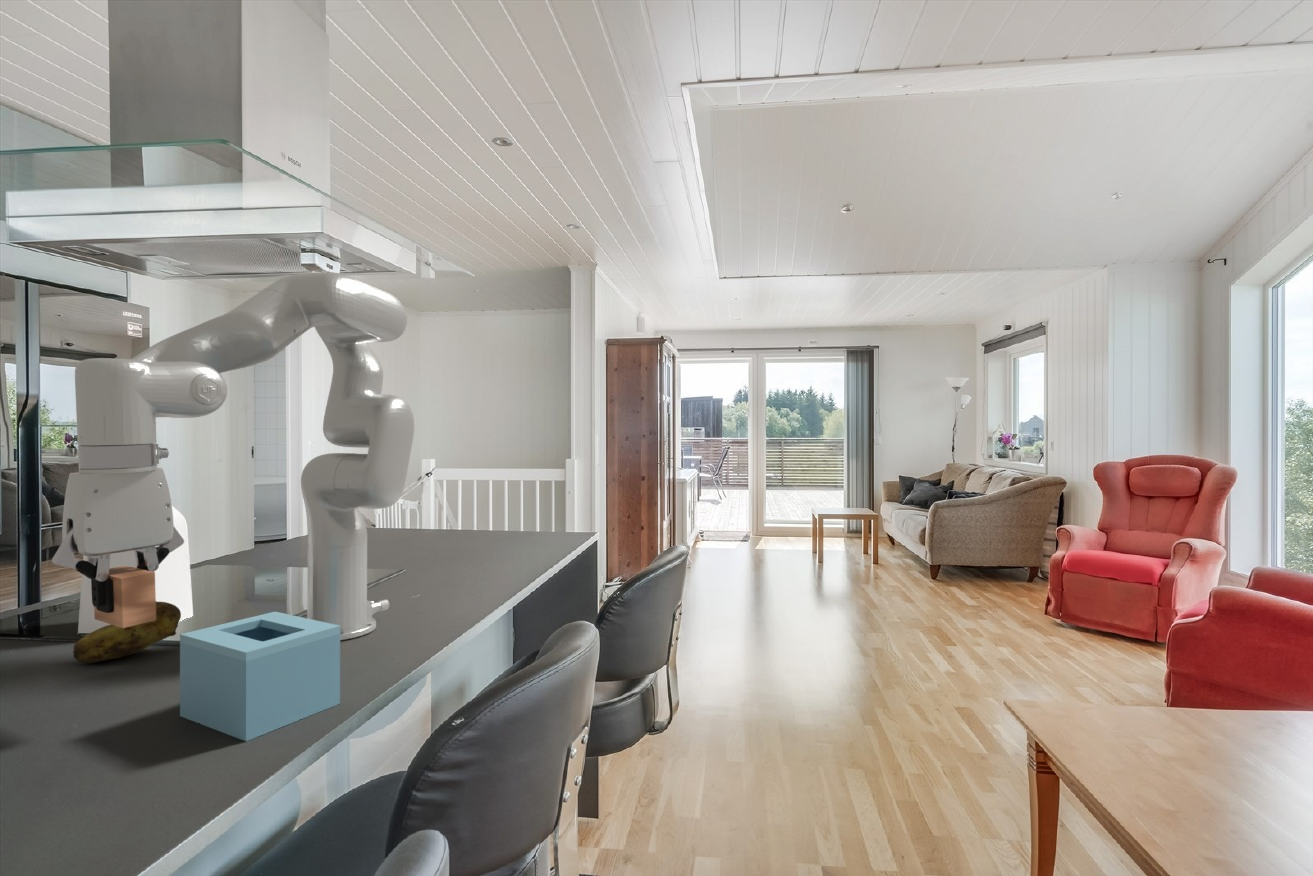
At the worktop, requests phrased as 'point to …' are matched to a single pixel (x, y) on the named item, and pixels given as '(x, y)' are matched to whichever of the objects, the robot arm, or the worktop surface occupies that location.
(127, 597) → the brown wooden block
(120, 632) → the potato
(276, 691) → the box
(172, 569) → the milk
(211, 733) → the worktop surface
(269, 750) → the worktop surface
